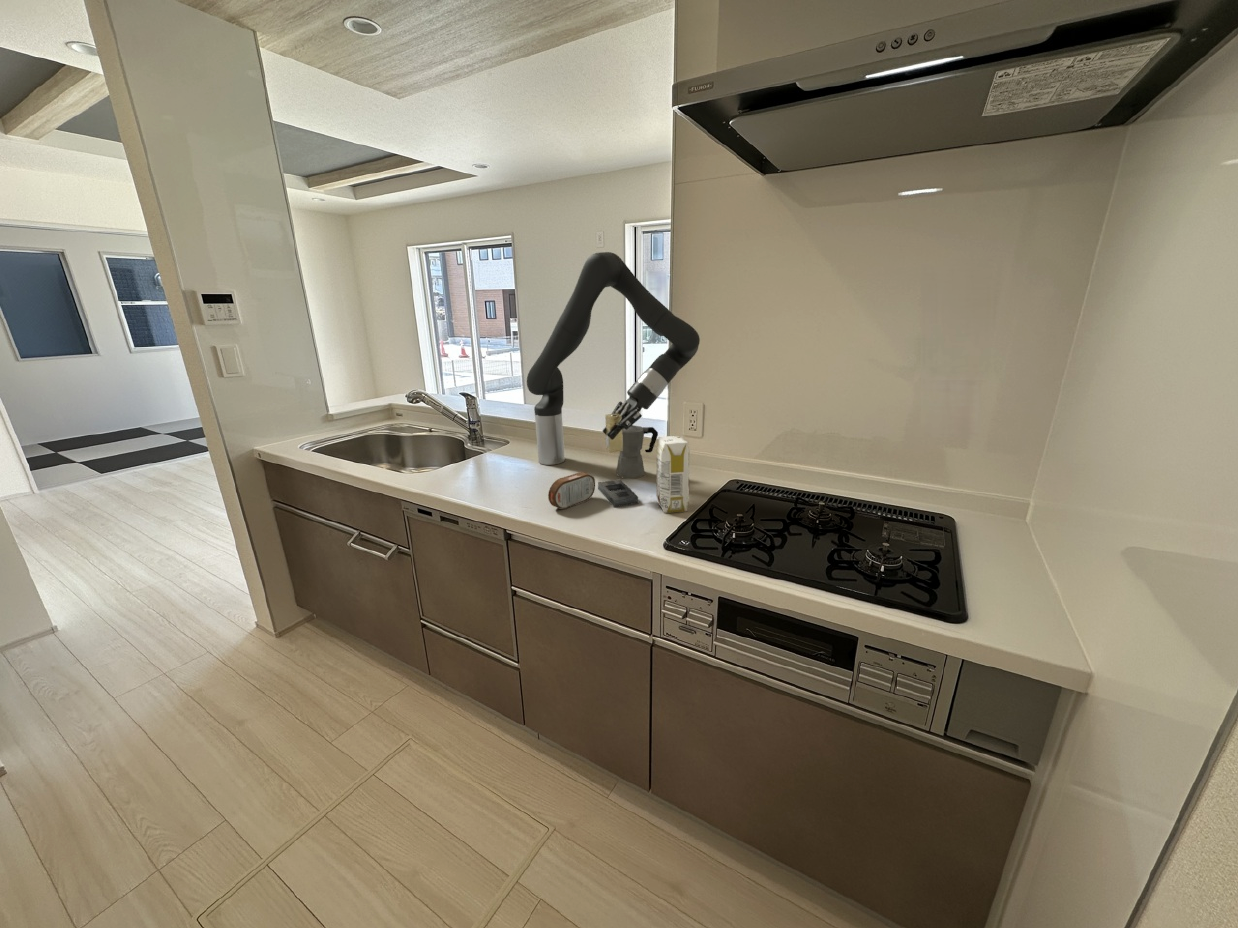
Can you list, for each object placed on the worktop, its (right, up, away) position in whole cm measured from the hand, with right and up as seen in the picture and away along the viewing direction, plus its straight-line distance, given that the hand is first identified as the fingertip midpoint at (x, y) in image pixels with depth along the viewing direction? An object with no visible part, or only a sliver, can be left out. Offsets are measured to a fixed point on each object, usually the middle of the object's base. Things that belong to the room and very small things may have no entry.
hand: (607, 435), depth 134 cm
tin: (-9, -19, 0) cm, 22 cm away
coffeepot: (+8, -11, +22) cm, 26 cm away
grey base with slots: (+3, -17, +5) cm, 18 cm away
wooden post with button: (+2, -4, +2) cm, 5 cm away
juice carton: (+18, -20, -4) cm, 27 cm away
